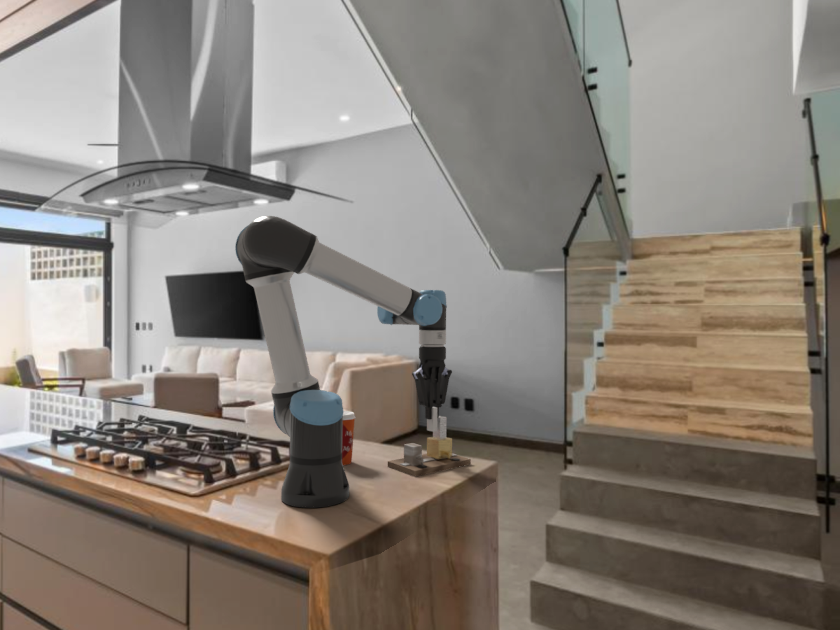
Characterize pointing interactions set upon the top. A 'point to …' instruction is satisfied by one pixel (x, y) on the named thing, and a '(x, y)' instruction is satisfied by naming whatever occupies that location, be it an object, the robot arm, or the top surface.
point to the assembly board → (424, 462)
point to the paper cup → (347, 437)
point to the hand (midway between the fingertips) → (432, 430)
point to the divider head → (439, 441)
